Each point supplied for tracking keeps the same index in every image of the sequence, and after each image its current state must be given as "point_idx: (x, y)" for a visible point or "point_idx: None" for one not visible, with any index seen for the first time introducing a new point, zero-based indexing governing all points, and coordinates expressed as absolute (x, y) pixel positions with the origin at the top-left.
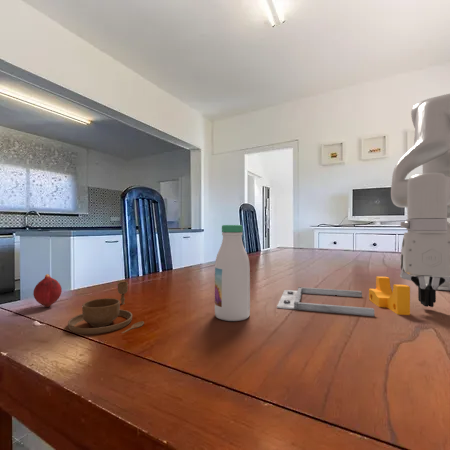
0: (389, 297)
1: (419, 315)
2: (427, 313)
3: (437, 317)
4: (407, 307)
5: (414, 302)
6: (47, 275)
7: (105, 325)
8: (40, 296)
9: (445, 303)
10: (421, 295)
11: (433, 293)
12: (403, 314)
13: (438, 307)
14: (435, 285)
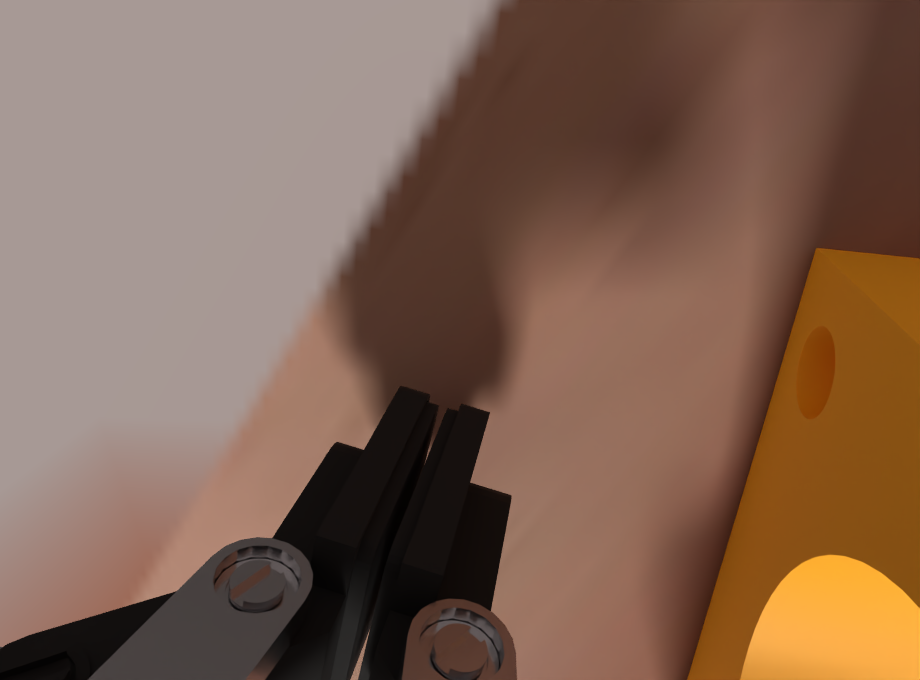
0: (853, 668)
1: (690, 231)
2: (521, 313)
3: (504, 154)
4: (891, 290)
5: None
6: None
7: None
8: None
9: None
10: (491, 544)
11: (341, 492)
12: (908, 260)
13: (263, 505)
14: (229, 611)
